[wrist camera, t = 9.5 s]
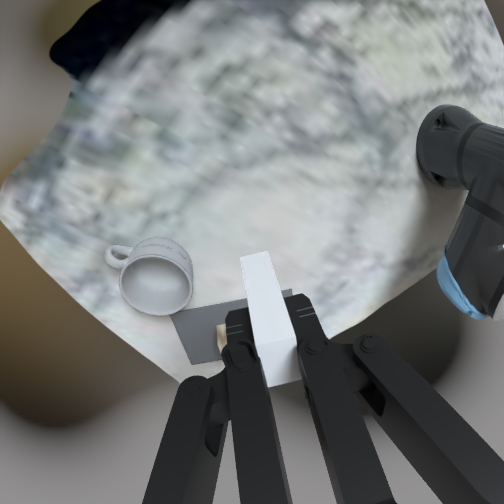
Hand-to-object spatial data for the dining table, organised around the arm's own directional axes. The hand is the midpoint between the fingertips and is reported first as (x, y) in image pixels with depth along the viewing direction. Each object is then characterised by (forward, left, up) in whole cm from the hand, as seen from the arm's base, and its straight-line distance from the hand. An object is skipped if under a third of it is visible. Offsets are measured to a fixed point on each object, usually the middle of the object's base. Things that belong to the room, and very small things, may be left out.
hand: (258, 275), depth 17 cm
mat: (+5, +31, -30) cm, 43 cm away
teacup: (+15, +12, -30) cm, 36 cm away
